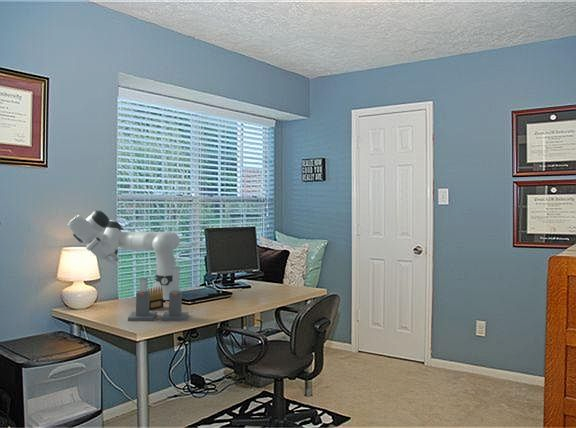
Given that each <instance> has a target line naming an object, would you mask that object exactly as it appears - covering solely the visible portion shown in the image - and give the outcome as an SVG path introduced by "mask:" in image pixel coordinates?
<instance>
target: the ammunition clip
mask: <svg viewBox="0 0 576 428" xmlns="http://www.w3.org/2000/svg"><path fill="white" fill-rule="evenodd" d="M147 291H150V304H149V311H154V310H159V309H161V308H164V300H163V289H162V286H161V289H160V287H158V290H157V287H156V289H155V288H153V287H147ZM152 292H153V293H152Z"/></svg>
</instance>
